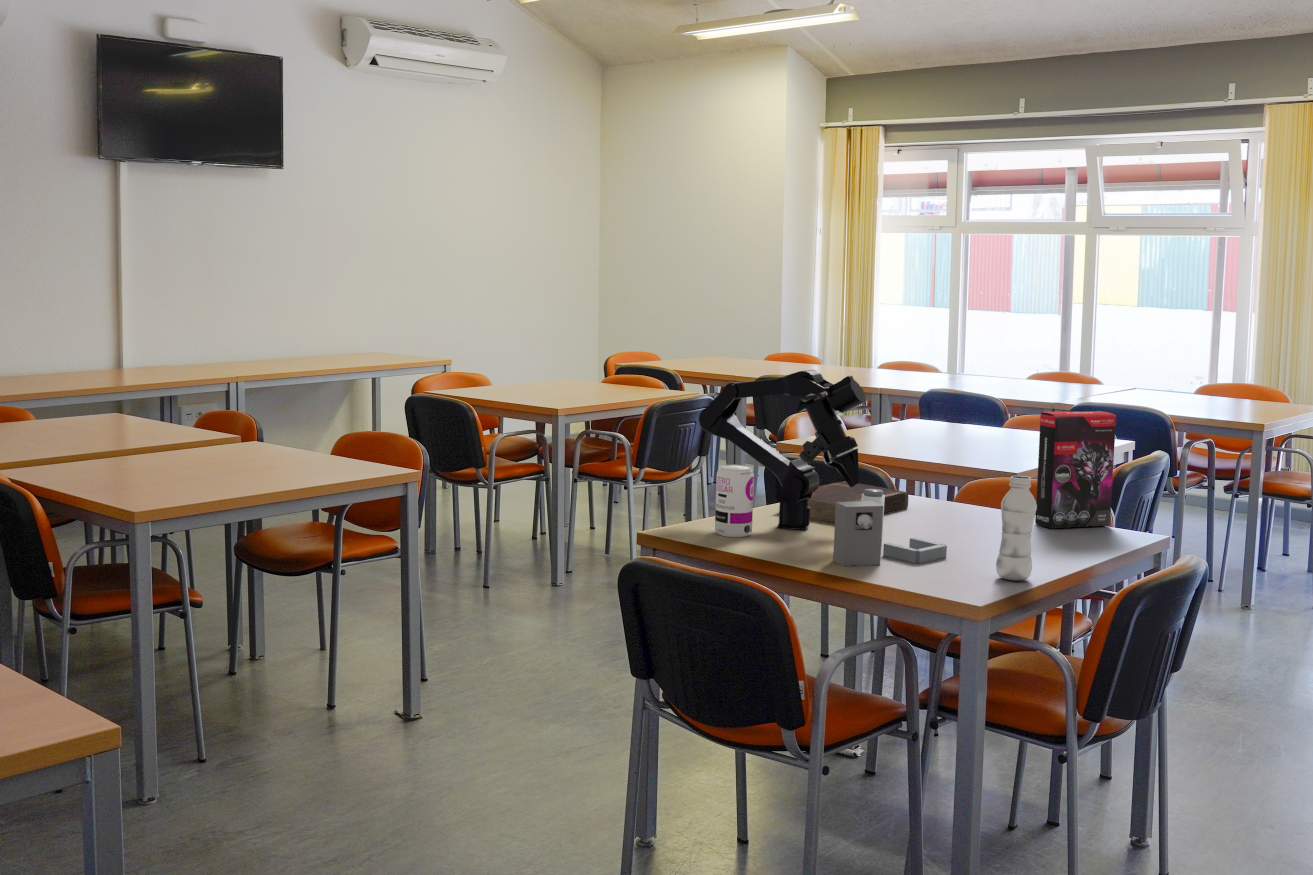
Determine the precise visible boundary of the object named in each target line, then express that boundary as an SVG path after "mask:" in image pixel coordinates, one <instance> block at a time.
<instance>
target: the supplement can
mask: <svg viewBox="0 0 1313 875" xmlns="http://www.w3.org/2000/svg"><path fill="white" fill-rule="evenodd" d="M715 480H716V481H715V482H716V484H715V485H716V486H715V487H716V488H715V509H714V511H715V514H714V531H715V532H716V533H717V535H719V536H722V537H727V538H744V537H748V536H749V535H750V534H751V533H752V532H753V514H754V512H753V511H754V507H753V506H754V486H755V484H754V482H755V475H754V471H753V470H752V467H751V466H749V465H742V464H723V465H719V469H718V470H717V472H716V479H715Z"/></svg>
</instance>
